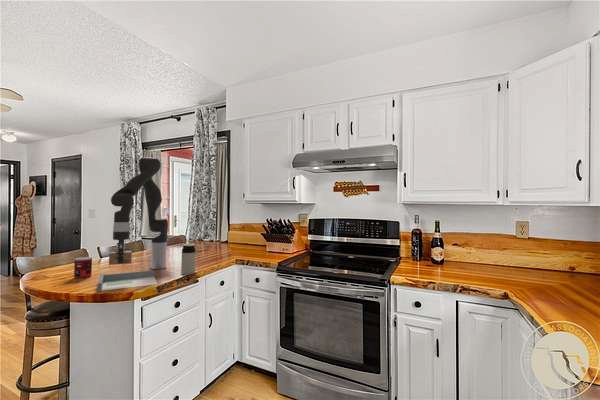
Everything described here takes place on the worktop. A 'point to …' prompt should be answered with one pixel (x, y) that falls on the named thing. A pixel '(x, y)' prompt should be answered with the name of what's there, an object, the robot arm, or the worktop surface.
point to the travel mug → (188, 259)
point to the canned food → (82, 267)
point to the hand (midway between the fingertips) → (120, 262)
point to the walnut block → (114, 257)
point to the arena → (126, 280)
